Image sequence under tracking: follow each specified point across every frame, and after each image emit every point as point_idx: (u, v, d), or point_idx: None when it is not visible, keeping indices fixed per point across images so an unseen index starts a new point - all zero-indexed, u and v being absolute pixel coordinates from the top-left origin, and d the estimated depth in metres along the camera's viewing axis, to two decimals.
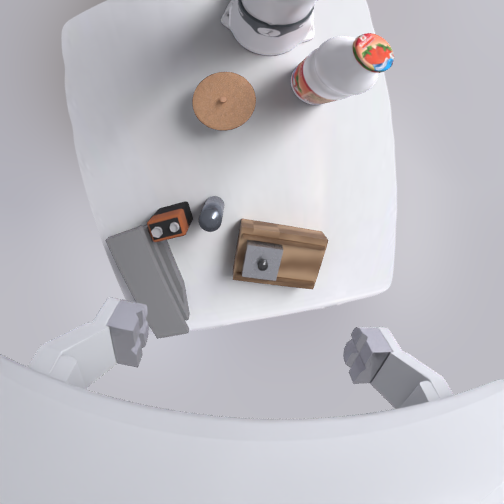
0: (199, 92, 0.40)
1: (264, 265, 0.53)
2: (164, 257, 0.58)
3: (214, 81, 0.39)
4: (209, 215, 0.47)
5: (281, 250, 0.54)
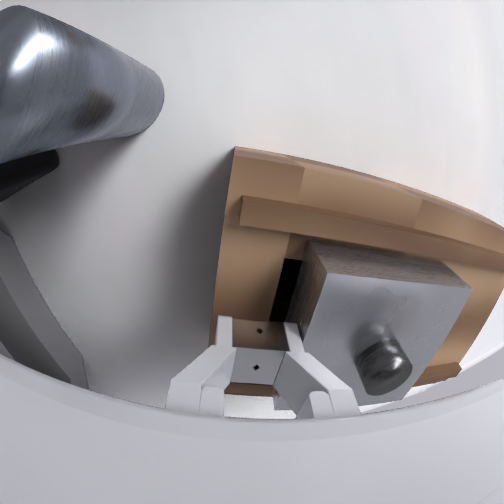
0: None
1: (398, 374, 0.08)
2: (3, 295, 0.13)
3: None
4: None
5: (465, 292, 0.09)
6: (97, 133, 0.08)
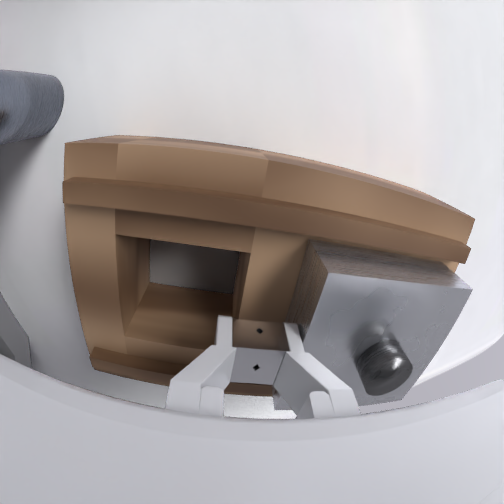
0: None
1: (398, 374, 0.08)
2: None
3: None
4: None
5: (465, 292, 0.09)
6: None
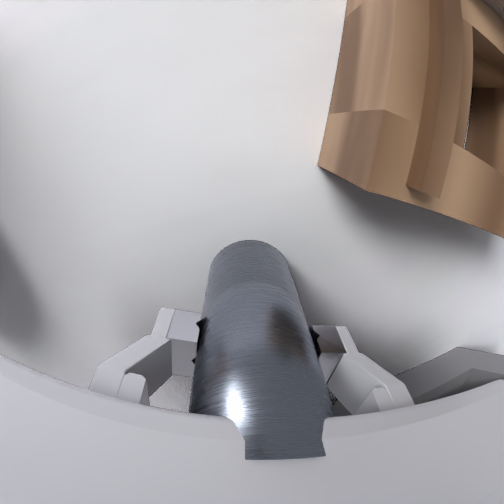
0: None
1: None
2: None
3: None
4: None
5: None
6: (310, 333, 0.09)
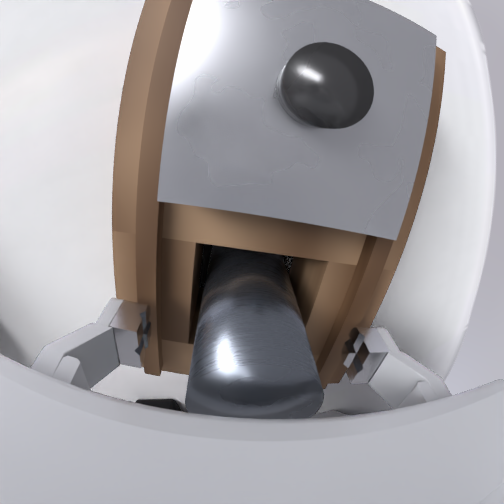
0: None
1: (322, 69, 0.05)
2: None
3: None
4: (220, 409, 0.07)
5: None
6: (293, 293, 0.11)
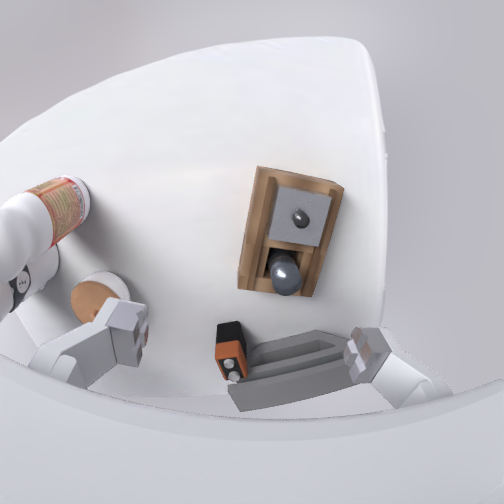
0: None
1: (300, 218, 0.34)
2: (277, 352, 0.52)
3: (82, 317, 0.40)
4: (280, 283, 0.36)
5: (280, 190, 0.34)
6: (294, 260, 0.40)
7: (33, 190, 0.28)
